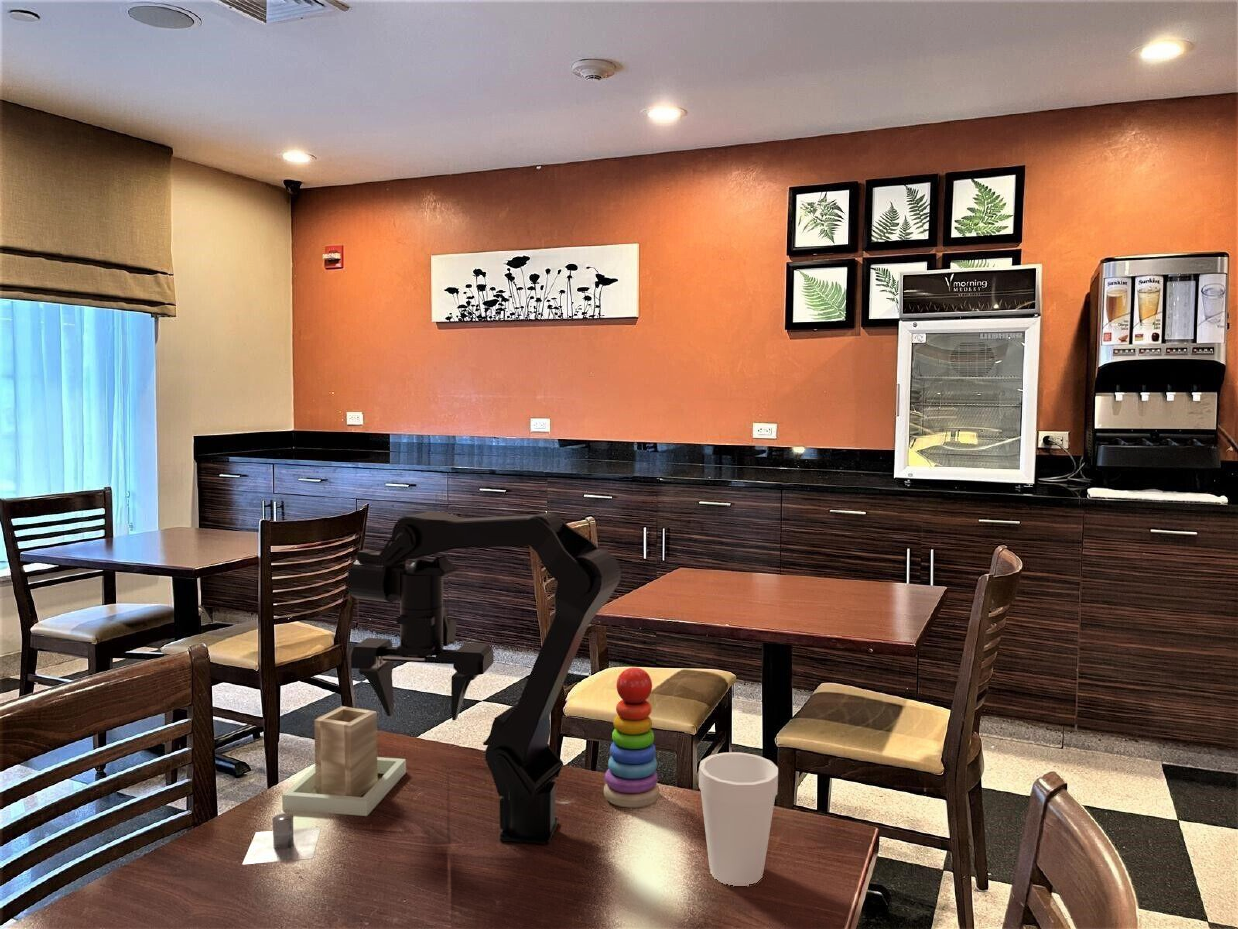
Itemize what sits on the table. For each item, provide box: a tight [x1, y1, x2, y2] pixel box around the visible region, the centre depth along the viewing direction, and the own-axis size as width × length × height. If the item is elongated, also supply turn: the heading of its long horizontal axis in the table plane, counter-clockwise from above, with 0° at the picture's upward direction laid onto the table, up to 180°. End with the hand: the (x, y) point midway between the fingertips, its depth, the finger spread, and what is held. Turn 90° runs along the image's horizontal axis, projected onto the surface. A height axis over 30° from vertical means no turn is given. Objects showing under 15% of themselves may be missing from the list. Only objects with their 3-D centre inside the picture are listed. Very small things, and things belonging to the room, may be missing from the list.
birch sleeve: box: [314, 705, 379, 797], centre depth 127 cm, size 8×6×11 cm
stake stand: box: [241, 812, 322, 866], centre depth 111 cm, size 8×8×4 cm
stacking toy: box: [603, 667, 661, 809], centre depth 127 cm, size 8×8×19 cm
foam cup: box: [698, 752, 779, 887], centre depth 107 cm, size 10×9×13 cm
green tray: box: [281, 756, 407, 817], centre depth 127 cm, size 12×14×3 cm
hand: (422, 717), depth 123 cm, fingers open, 9 cm apart
